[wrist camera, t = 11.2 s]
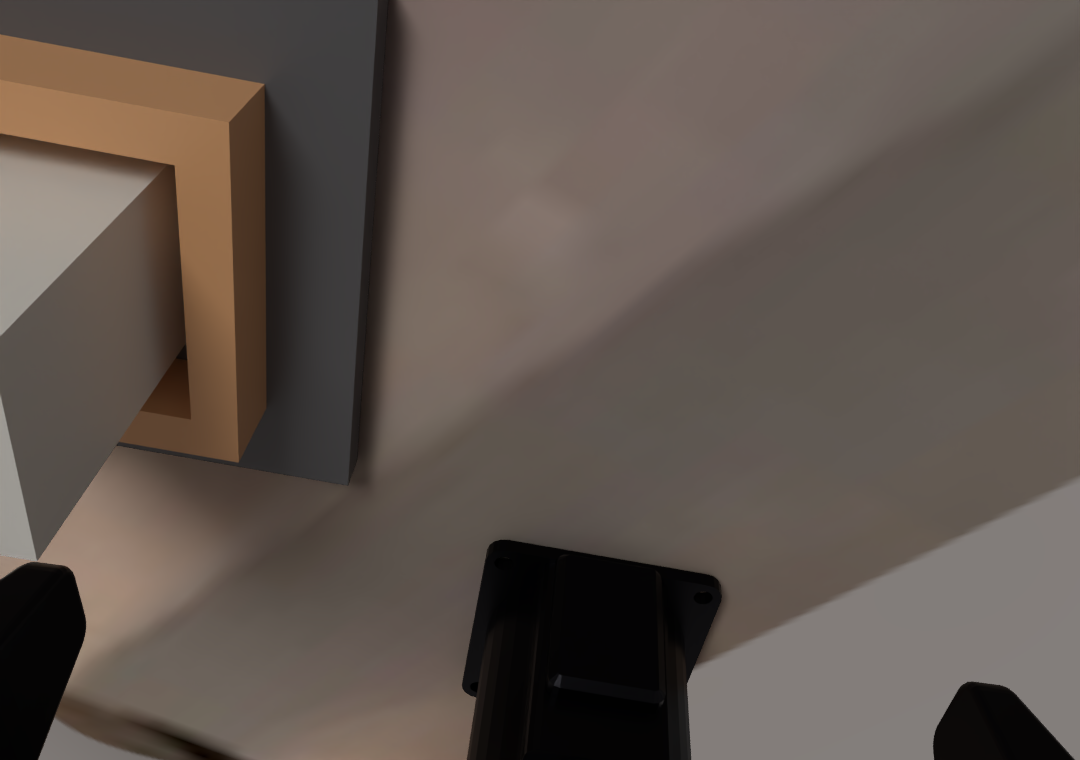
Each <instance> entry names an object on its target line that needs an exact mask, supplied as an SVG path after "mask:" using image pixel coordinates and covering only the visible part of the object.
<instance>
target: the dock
mask: <svg viewBox="0 0 1080 760" xmlns="http://www.w3.org/2000/svg"><path fill="white" fill-rule="evenodd" d="M387 14H388V0H0V133H2V134H7V135H13V136H18V137H24V138H29V139H34V140H40V141H45V142H51V143H56V144H62V145H67V146H72V147H78V148H83V149H89V150H94V151H100V152H105V153H110V154H116V155H121V156H127V157H132V158H138V159H143V160H149V161H154V162H159V163H165V164H170V165H175V178H176V193H177V208H178V224H179V239H180V254H181V270H182V285H183V300H184V315H185V331H186V344H185V345H184V347H183V348H182V349H181V351H180V352H179V354H178V355H177V357H176V358H175V360H174V361H173V363H172V364H171V366H170V367H169V369H168V370H167V371H166V373H165V374H164V376H163V377H162V379H161V380H160V382H159V383H158V385H157V386H156V388H155V389H154V391H153V392H152V393H151V395H150V396H149V398H148V399H147V401H146V402H145V404H144V405H143V407H142V408H141V410H140V411H139V413H138V414H137V415H136V417H135V418H134V420H133V421H132V423H131V424H130V426H129V427H128V429H127V430H126V432H125V433H124V435H123V436H122V437H121V439H120V440H119V442H118V443H117V446H123V447H129V448H134V449H140V450H146V451H152V452H157V453H163V454H169V455H175V456H180V457H186V458H192V459H198V460H203V461H209V462H215V463H221V464H227V465H232V466H238V467H244V468H250V469H255V470H261V471H267V472H273V473H278V474H284V475H290V476H296V477H301V478H307V479H313V480H319V481H324V482H330V483H336V484H342V485H347V486H348V484H349V481H350V478H351V476H352V473H353V470H354V467H355V464H356V462H357V454H358V440H359V425H360V410H361V396H362V381H363V366H364V351H365V337H366V322H367V307H368V293H369V278H370V263H371V249H372V234H373V219H374V205H375V190H376V175H377V160H378V146H379V131H380V116H381V102H382V87H383V72H384V58H385V43H386V28H387Z"/></svg>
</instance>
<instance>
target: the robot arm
mask: <svg viewBox="0 0 1080 760" xmlns="http://www.w3.org/2000/svg"><path fill="white" fill-rule="evenodd" d="M499 557H506V558H509V559H502V558H499ZM698 592H706V593H698ZM721 598H722V594H721V585H720V583H719V581H718V580H717V579H716V578H715V577H713V576H710V575H707V574H701V573H695V572H690V571H684V570H678V569H672V568H667V567H661V566H655V565H649V564H643V563H638V562H632V561H626V560H620V559H614V558H609V557H603V556H597V555H591V554H585V553H580V552H574V551H568V550H562V549H557V548H551V547H545V546H539V545H533V544H528V543H522V542H516V541H510V540H499V541H495V542H493V543H492V544H490V545H489V547H488V549H487V554H486V559H485V565H484V570H483V575H482V581H481V586H480V591H479V596H478V602H477V607H476V612H475V618H474V623H473V628H472V634H471V639H470V644H469V650H468V655H467V660H466V665H465V671H464V676H463V682H462V688H463V690H464V691H465V692H466V693H467V694H469V695H470V696H474V697H476V703H475V710H474V716H473V723H472V730H471V736H470V743H469V749H468V756H467V760H691V749H690V731H689V715H688V714H689V713H688V696H687V682H688V680H689V678H690V675H691V673H692V670H693V668H694V665H695V663H696V661H697V658H698V656H699V653H700V651H701V649H702V646H703V644H704V641H705V639H706V636H707V634H708V632H709V629H710V627H711V624H712V622H713V620H714V617H715V615H716V612H717V610H718V607H719V605H720V603H721ZM85 632H86V618H85V614H84V610H83V606H82V602H81V598H80V595H79V591H78V587H77V583H76V580H75V576H74V574H73V572H72V571H71V570H70V569H69V568H68V567H66V566H62V565H54V564H47V563H39V562H30V563H27V564H24V565H22V566H20V567H18V568H17V569H15V570H14V571H12V572H11V573H9V574H8V575H6V576H5V577H3V578H2V579H0V760H38V758H39V756H40V753H41V750H42V748H43V746H44V743H45V740H46V738H47V735H48V733H49V730H50V727H51V724H52V722H53V720H54V717H55V714H56V712H57V709H58V707H59V704H60V701H61V699H62V696H63V694H64V691H65V688H66V686H67V683H68V681H69V678H70V675H71V673H72V670H73V668H74V665H75V662H76V660H77V657H78V655H79V652H80V649H81V647H82V644H83V641H84V637H85ZM933 750H934V760H1074V758H1073V757H1072V756H1071V755H1070V754H1069V753H1068V752H1067V751H1066V750H1065V748H1064V747H1063V746H1062V745H1061V744H1060V743H1059V742H1058V741H1057V740H1056V738H1055V737H1054V736H1053V735H1052V734H1051V733H1050V732H1049V731H1048V730H1047V729H1046V727H1045V726H1044V725H1043V724H1042V723H1041V722H1040V721H1039V720H1038V718H1037V717H1036V716H1035V715H1034V714H1033V713H1032V712H1031V711H1030V710H1029V709H1028V707H1027V706H1026V705H1025V704H1024V703H1023V702H1022V701H1021V700H1020V699H1019V697H1017V695H1016V694H1015V693H1014V692H1012V691H1011V690H1010V689H1008V688H1006V687H1004V686H1000V685H994V684H986V683H979V682H967V683H965V684H963V685H962V686H961V687H960V688H959V690H958V692H957V693H956V695H955V697H954V698H953V700H952V702H951V703H950V705H949V707H948V709H947V710H946V712H945V714H944V716H943V717H942V719H941V721H940V722H939V724H938V726H937V728H936V731H935V735H934V741H933Z"/></svg>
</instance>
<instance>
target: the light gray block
mask: <svg viewBox="0 0 1080 760" xmlns="http://www.w3.org/2000/svg"><path fill="white" fill-rule="evenodd" d="M185 344H186V331H185V315H184V300H183V285H182V270H181V254H180V239H179V224H178V208H177V193H176V178H175V165H170V164H165V163H159V162H154V161H149V160H143V159H138V158H132V157H127V156H121V155H116V154H110V153H105V152H100V151H94V150H89V149H83V148H78V147H72V146H67V145H62V144H56V143H51V142H45V141H40V140H34V139H29V138H24V137H18V136H13V135H7V134H2V133H0V555H2V556H8V557H14V558H20V559H26V560H32V561H38V559H39V558H40V556H41V555H42V553H43V552H44V550H45V549H46V548H47V546H48V545H49V543H50V542H51V540H52V539H53V537H54V536H55V534H56V533H57V531H58V530H59V528H60V527H61V526H62V524H63V523H64V521H65V520H66V518H67V517H68V515H69V514H70V512H71V511H72V509H73V508H74V506H75V505H76V503H77V502H78V501H79V499H80V498H81V496H82V495H83V493H84V492H85V490H86V489H87V487H88V486H89V484H90V483H91V481H92V480H93V479H94V477H95V476H96V474H97V473H98V471H99V470H100V468H101V467H102V465H103V464H104V462H105V461H106V459H107V458H108V457H109V455H110V454H111V452H112V451H113V449H114V448H115V446H116V445H117V443H118V442H119V440H120V439H121V437H122V436H123V435H124V433H125V432H126V430H127V429H128V427H129V426H130V424H131V423H132V421H133V420H134V418H135V417H136V415H137V414H138V413H139V411H140V410H141V408H142V407H143V405H144V404H145V402H146V401H147V399H148V398H149V396H150V395H151V393H152V392H153V391H154V389H155V388H156V386H157V385H158V383H159V382H160V380H161V379H162V377H163V376H164V374H165V373H166V371H167V370H168V369H169V367H170V366H171V364H172V363H173V361H174V360H175V358H176V357H177V355H178V354H179V352H180V351H181V349H182V348H183V347H184V345H185Z"/></svg>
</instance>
